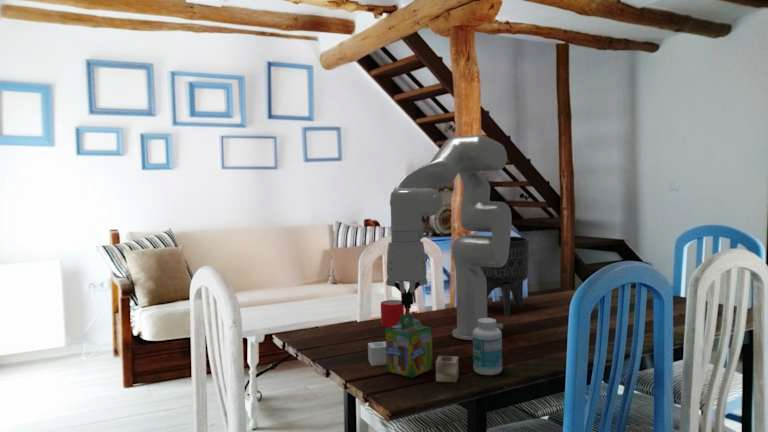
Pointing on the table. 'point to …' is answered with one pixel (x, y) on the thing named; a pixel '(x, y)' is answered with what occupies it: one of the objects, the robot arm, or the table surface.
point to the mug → (392, 312)
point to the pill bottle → (487, 347)
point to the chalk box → (408, 348)
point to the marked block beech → (447, 369)
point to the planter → (510, 273)
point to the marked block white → (377, 353)
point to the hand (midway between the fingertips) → (407, 307)
